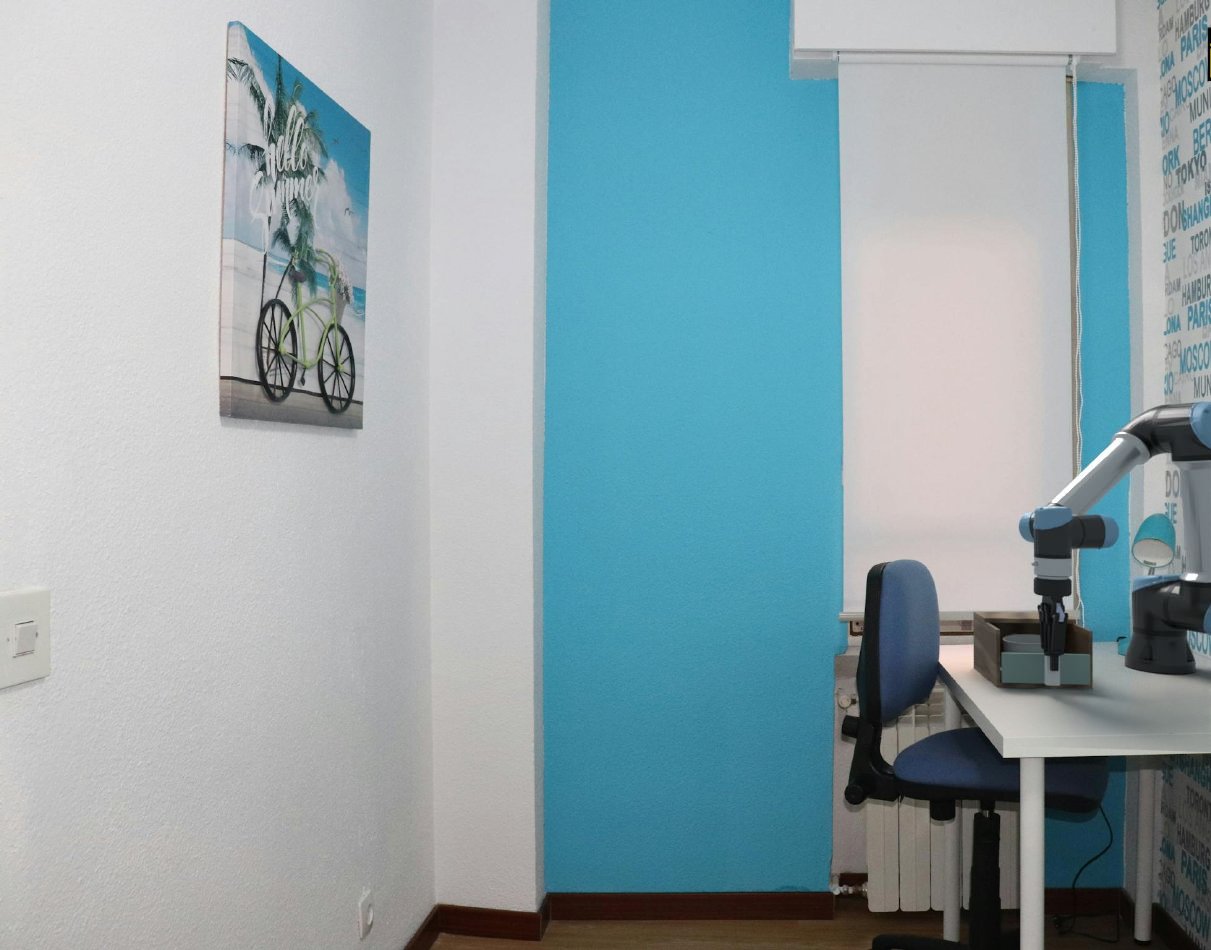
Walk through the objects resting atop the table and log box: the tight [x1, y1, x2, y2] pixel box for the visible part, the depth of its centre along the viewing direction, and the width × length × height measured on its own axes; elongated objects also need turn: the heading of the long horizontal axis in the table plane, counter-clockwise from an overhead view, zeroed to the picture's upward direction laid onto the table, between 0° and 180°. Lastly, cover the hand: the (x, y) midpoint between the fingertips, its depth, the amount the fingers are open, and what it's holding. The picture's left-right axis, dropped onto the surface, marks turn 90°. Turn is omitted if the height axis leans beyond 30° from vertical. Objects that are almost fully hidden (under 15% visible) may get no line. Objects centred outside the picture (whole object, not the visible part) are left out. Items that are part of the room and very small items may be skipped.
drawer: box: [1000, 653, 1090, 685], centre depth 218 cm, size 19×20×7 cm
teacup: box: [1003, 634, 1044, 653], centre depth 218 cm, size 14×11×8 cm
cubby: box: [973, 611, 1094, 690], centre depth 219 cm, size 21×20×14 cm
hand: (1052, 684), depth 203 cm, fingers closed
